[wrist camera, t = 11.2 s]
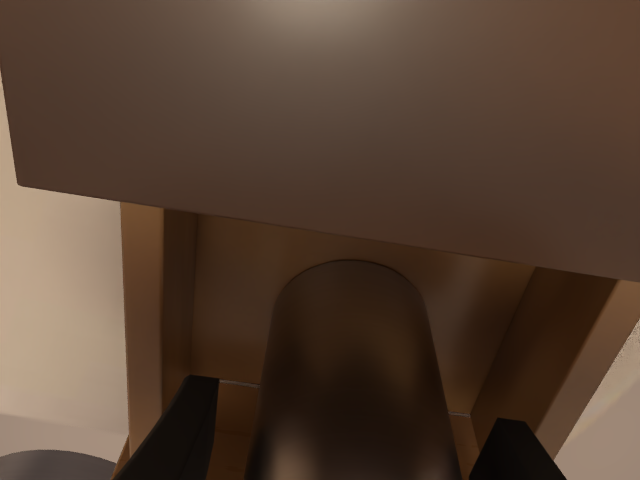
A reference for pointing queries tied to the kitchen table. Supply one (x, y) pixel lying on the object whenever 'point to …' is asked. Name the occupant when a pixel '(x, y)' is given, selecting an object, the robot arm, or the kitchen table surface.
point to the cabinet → (345, 117)
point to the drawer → (412, 263)
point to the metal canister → (351, 383)
